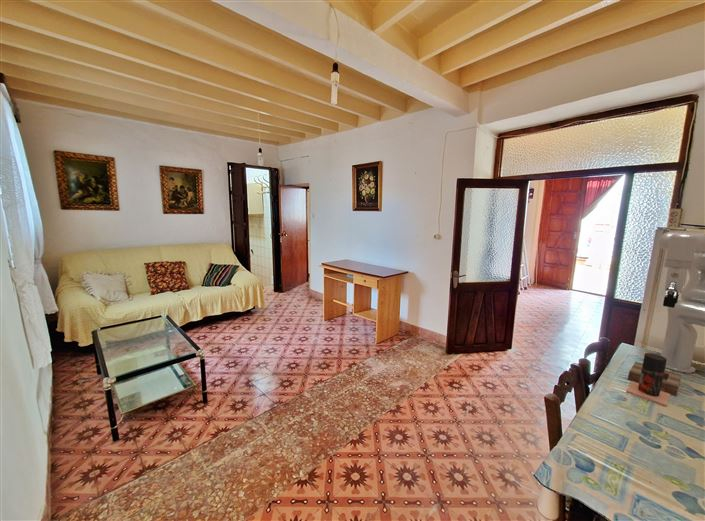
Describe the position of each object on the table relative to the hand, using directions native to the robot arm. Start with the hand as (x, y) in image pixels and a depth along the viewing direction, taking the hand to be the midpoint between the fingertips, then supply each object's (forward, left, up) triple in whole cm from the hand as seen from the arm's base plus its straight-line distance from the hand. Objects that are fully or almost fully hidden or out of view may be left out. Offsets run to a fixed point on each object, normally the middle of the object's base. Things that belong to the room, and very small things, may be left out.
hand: (669, 304), depth 120 cm
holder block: (+5, 0, -33) cm, 34 cm away
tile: (+19, 0, -33) cm, 38 cm away
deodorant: (+19, 0, -33) cm, 38 cm away
